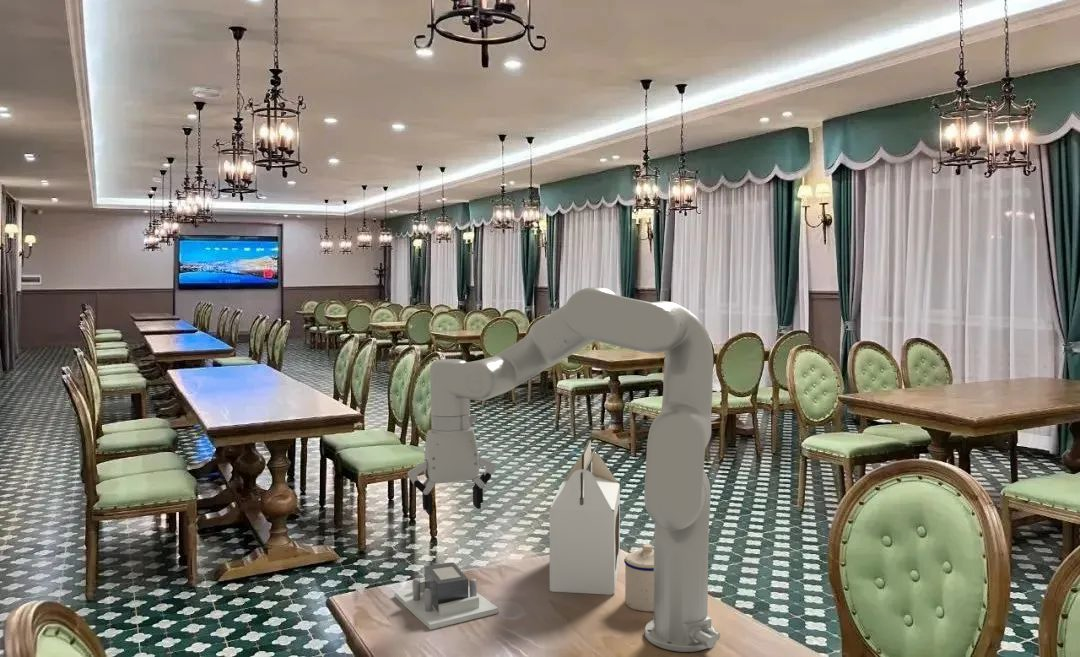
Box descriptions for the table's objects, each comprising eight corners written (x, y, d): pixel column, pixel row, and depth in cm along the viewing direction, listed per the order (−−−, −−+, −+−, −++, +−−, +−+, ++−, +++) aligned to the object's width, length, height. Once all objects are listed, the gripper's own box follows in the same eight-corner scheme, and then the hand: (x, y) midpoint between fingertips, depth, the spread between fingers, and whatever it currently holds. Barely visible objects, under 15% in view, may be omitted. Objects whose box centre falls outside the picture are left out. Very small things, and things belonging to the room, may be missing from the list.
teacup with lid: (674, 612, 153) (675, 553, 153) (627, 613, 153) (627, 553, 152) (662, 588, 165) (663, 533, 165) (619, 589, 165) (619, 533, 164)
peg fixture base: (497, 613, 153) (497, 587, 153) (430, 629, 146) (429, 603, 146) (457, 582, 169) (457, 559, 169) (394, 596, 162) (394, 572, 161)
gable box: (614, 596, 162) (614, 459, 160) (549, 592, 164) (548, 457, 162) (619, 558, 184) (620, 437, 182) (562, 555, 186) (562, 435, 184)
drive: (468, 607, 154) (468, 578, 153) (438, 612, 152) (437, 583, 151) (452, 587, 163) (452, 560, 163) (424, 592, 161) (423, 565, 161)
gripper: (487, 416, 162) (489, 500, 163) (402, 423, 156) (405, 510, 157) (499, 422, 155) (501, 509, 156) (410, 430, 149) (413, 520, 150)
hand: (453, 510), depth 156 cm, fingers open, 9 cm apart
